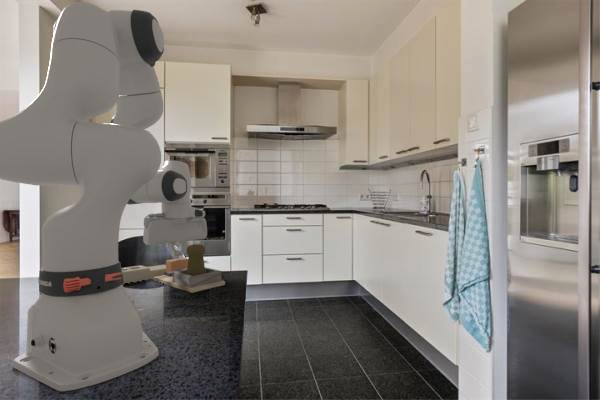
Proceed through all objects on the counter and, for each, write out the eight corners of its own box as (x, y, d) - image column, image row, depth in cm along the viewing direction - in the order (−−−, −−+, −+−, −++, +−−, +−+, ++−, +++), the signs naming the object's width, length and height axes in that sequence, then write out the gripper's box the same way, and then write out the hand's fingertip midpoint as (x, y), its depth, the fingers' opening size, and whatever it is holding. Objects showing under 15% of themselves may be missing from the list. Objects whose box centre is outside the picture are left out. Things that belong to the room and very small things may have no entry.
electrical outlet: (172, 264, 112) (113, 273, 100) (172, 276, 112) (113, 287, 100) (164, 261, 117) (106, 269, 105) (164, 273, 117) (106, 282, 105)
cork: (186, 285, 96) (185, 246, 96) (184, 280, 101) (184, 243, 101) (208, 282, 98) (207, 245, 98) (205, 278, 104) (204, 242, 104)
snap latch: (188, 268, 108) (188, 258, 108) (171, 271, 103) (171, 261, 103) (183, 266, 110) (183, 257, 110) (166, 270, 106) (165, 260, 106)
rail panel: (225, 284, 100) (224, 271, 100) (191, 292, 92) (191, 278, 92) (184, 274, 114) (184, 262, 114) (153, 280, 106) (152, 267, 106)
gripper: (148, 214, 97) (149, 262, 97) (209, 211, 112) (210, 252, 113) (138, 213, 101) (139, 259, 101) (198, 210, 116) (199, 250, 117)
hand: (177, 256), depth 107 cm, fingers closed
